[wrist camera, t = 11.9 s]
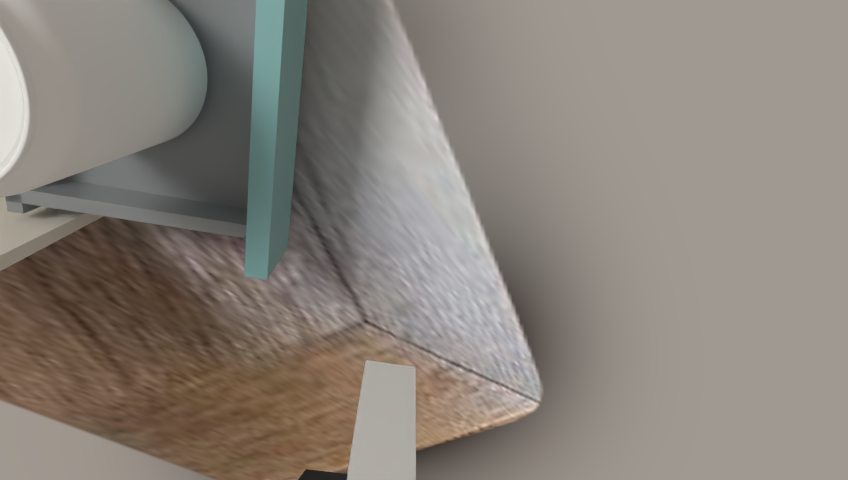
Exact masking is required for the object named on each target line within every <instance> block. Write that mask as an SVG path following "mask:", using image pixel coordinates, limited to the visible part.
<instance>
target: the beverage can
mask: <svg viewBox="0 0 848 480" xmlns="http://www.w3.org/2000/svg"><path fill="white" fill-rule="evenodd" d="M206 92H207V67H206V61H205V57H204V53H203V50H202V48H201V45H200V42H199V40H198V38H197V36H196V34H195V32H194V31H193V29H192V27H191V26H190V24H189V23H188V21H187V20H186V18H185V17H184V16H183V15H182V13H181V12H180V11H179V10H178V9H177V8H176V7H175V6H174V5H173V4H172V3H171V2H170V1H169V0H0V197H7V196H13V195H17V194H21V193H24V192H27V191H30V190H33V189H36V188H39V187H41V186H44V185H47V184H50V183H52V182H55V181H58V180H61V179H64V178H66V177H69V176H72V175H75V174H77V173H80V172H83V171H86V170H88V169H91V168H94V167H97V166H99V165H102V164H105V163H108V162H111V161H113V160H116V159H119V158H122V157H124V156H127V155H130V154H133V153H135V152H138V151H141V150H144V149H146V148H149V147H152V146H155V145H158V144H160V143H163V142H166V141H168V140H171V139H173V138H175V137H177V136H179V135H180V134H182V133H183V132H184V131H186V130H187V129H188V128H189V127H190V126H191V125H192V124H193V122H194V121H195V120H196V118H197V117H198V115H199V113H200V111H201V109H202V107H203V104H204V101H205V97H206Z"/></svg>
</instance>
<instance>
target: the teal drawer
mask: <svg viewBox="0 0 848 480" xmlns="http://www.w3.org/2000/svg"><path fill="white" fill-rule="evenodd" d="M169 1H170V2H171V3H172V4H173V5H174V6H175V7H176V8H177V9H178V10H179V11H180V12H181V13H182V15H183V16H184V17H185V18H186V20H187V21H188V23H189V24H190V26H191V27H192V29H193V31H194V32H195V34H196V36H197V38H198V40H199V42H200V45H201V48H202V50H203V53H204V57H205V61H206V67H207V92H206V97H205V101H204V104H203V107H202V109H201V111H200V113H199V115H198V117H197V118H196V120H195V121H194V122H193V124H192V125H191V126H190V127H189V128H188V129H187V130H186V131H184V132H183V133H182V134H180V135H179V136H177V137H175V138H173V139H171V140H168V141H166V142H163V143H160V144H158V145H155V146H152V147H149V148H146V149H144V150H141V151H138V152H135V153H133V154H130V155H127V156H124V157H122V158H119V159H116V160H113V161H111V162H108V163H105V164H102V165H99V166H97V167H94V168H91V169H88V170H86V171H83V172H80V173H77V174H75V175H72V176H69V177H66V178H64V179H61V180H58V181H55V182H52V183H50V184H47V185H44V186H41V187H39V188H36V189H33V190H30V191H27V192H24V193H21V194H17V195H13V196H7V197H5V199H6V205H7V211H9V212H15V213H22V214H24V213H27V212H29V211H31V210H34V209H36V208H39V207H41V206H43V207H49V208H55V209H62V210H68V211H74V212H81V213H87V214H94V215H100V216H106V217H113V218H119V219H125V220H132V221H138V222H144V223H151V224H157V225H163V226H170V227H176V228H182V229H189V230H195V231H201V232H208V233H214V234H221V235H227V236H233V237H240V238H246V250H245V273H244V277H250V278H257V279H263V280H267V279H268V278H269V276H270V274H271V273H272V271H273V270H274V268H275V267H276V265H277V263H278V262H279V260H280V259H281V257H282V255H283V254H284V252H285V251H286V249H287V248H288V242H289V230H290V217H291V205H292V193H293V180H294V168H295V156H296V143H297V131H298V119H299V106H300V94H301V82H302V69H303V57H304V45H305V32H306V20H307V8H308V0H169Z"/></svg>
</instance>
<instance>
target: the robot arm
mask: <svg viewBox="0 0 848 480" xmlns="http://www.w3.org/2000/svg"><path fill="white" fill-rule="evenodd" d="M298 480H416V383H415V367H411V366H403V365H396V364H389V363H382V362H375V361H368V360H366V363H365V369H364V375H363V381H362V387H361V393H360V398H359V404H358V410H357V416H356V422H355V428H354V435H353V441H352V447H351V453H350V460H349V466H348V472H347V474H341V473H332V472H324V471H315V470H307V469H306V470H305V472H304V473H303V474H302V475H301V477H300V478H299V479H298Z"/></svg>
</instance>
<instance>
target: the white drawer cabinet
mask: <svg viewBox="0 0 848 480" xmlns="http://www.w3.org/2000/svg"><path fill="white" fill-rule="evenodd" d="M101 217H103V216H100V215H94V214H87V213H81V212H74V211H68V210H62V209H55V208H49V207H43V206H41V207H39V208H36V209H34V210H31V211H29V212H27V213H24V214H22V213H15V212H9V211H7V205H6V199H5V197H0V271H2V270H3V269H5V268H7V267H9V266H11V265H13V264H15V263H17V262H18V261H20V260H22V259H24V258H26V257H28V256H30V255H32V254H34V253H35V252H37V251H39V250H41V249H43V248H45V247H47V246H49V245H50V244H52V243H54V242H56V241H58V240H60V239H62V238H64V237H65V236H67V235H69V234H71V233H73V232H75V231H77V230H79V229H81V228H82V227H84V226H86V225H88V224H90V223H92V222H94V221H96V220H97V219H99V218H101Z"/></svg>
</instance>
